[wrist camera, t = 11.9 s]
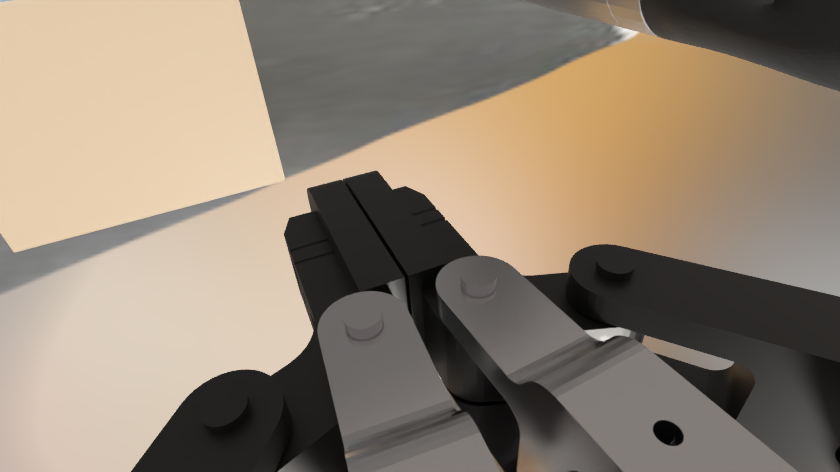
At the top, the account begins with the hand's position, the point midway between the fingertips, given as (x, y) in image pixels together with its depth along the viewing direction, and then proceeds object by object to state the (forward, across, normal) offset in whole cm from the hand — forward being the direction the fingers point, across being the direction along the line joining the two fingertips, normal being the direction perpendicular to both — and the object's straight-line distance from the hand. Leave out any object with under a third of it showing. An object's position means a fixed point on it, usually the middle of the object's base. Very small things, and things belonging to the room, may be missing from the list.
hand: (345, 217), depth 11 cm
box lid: (+23, +8, +2) cm, 25 cm away
